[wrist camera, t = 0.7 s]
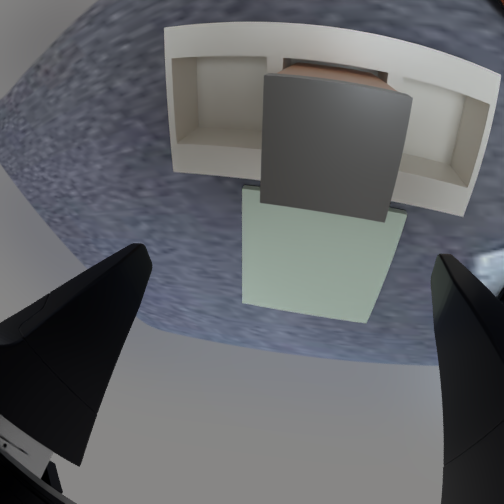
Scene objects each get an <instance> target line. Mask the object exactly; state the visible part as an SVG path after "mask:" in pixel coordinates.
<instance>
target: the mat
mask: <svg viewBox="0 0 504 504" xmlns="http://www.w3.org/2000/svg"><path fill="white" fill-rule="evenodd" d="M406 218H407V212H406V211H405V210H400V209H395V208H390V207H389V210H388V213H387V217H386V220H385V223H383V222H378V221H372V220H367V219H361V218H355V217H349V216H343V215H337V214H331V213H325V212H319V211H312V210H306V209H299V208H292V207H286V206H279V205H271V204H264V203H260V187H257V186H248V185H244V186H243V188H242V303H245V304H250V305H256V306H261V307H267V308H272V309H278V310H284V311H289V312H295V313H301V314H307V315H313V316H320V317H326V318H332V319H339V320H346V321H353V322H360V323H367V321H368V319H369V317H370V314H371V312H372V310H373V307H374V305H375V302H376V300H377V298H378V295H379V293H380V290H381V288H382V285H383V283H384V280H385V278H386V275H387V272H388V270H389V267H390V264H391V262H392V259H393V256H394V253H395V251H396V248H397V245H398V242H399V239H400V236H401V233H402V230H403V227H404V224H405V221H406Z"/></svg>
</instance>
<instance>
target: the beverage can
mask: <svg viewBox="0 0 504 504" xmlns="http://www.w3.org/2000/svg"><path fill="white" fill-rule="evenodd" d="M497 1H498V2H499V4H500V5H501V7H502V8H503V9H504V0H497Z"/></svg>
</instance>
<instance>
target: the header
mask: <svg viewBox="0 0 504 504" xmlns="http://www.w3.org/2000/svg"><path fill="white" fill-rule="evenodd" d="M164 43H165V69H166V88H167V103H168V117H169V130H170V141H171V152H172V162H173V172H181V173H193V174H205V175H215V176H225V177H235V178H244V179H253V180H261V151H262V120H263V88H264V75H265V74H268V73H278V72H280V71H282V70H284V69H285V68H287V67H289V66H291V65H293V64H295V63H297V62H301V63H310V64H319V65H327V66H334V67H341V68H348V69H354V70H359V71H365V72H370V73H372V74H374V75H375V76H377V77H378V78H380V79H381V80H382V81H384V82H385V83H387V84H388V85H390V86H391V87H392V88H394V89H395V90H396V91H398V92H401V93H405V94H408V95H409V96H411V97H412V98H413V100H412V106H411V112H410V118H409V123H408V129H407V134H406V139H405V143H404V148H403V153H402V157H401V162H400V166H399V170H398V175H397V179H396V183H395V187H394V191H393V195H392V198H391V201H393V202H398V203H403V204H408V205H413V206H418V207H422V208H427V209H431V210H436V211H440V212H445V213H449V214H453V215H457V216H461V217H463V216H464V213H465V210H466V208H467V205H468V202H469V200H470V197H471V194H472V191H473V188H474V185H475V182H476V179H477V176H478V173H479V170H480V166H481V163H482V160H483V156H484V153H485V149H486V145H487V142H488V138H489V134H490V130H491V126H492V121H493V117H494V112H495V107H496V102H497V97H498V92H499V86H500V80H501V75H500V74H498V73H496V72H493V71H491V70H489V69H486V68H484V67H482V66H479V65H477V64H474V63H472V62H469V61H467V60H464V59H461V58H458V57H456V56H453V55H450V54H447V53H444V52H441V51H438V50H435V49H432V48H428V47H425V46H421V45H418V44H414V43H411V42H407V41H403V40H399V39H395V38H391V37H386V36H381V35H377V34H372V33H367V32H361V31H355V30H349V29H343V28H336V27H328V26H319V25H309V24H297V23H281V22H221V23H204V24H192V25H182V26H174V27H166V28H164Z"/></svg>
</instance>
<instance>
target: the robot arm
mask: <svg viewBox="0 0 504 504" xmlns="http://www.w3.org/2000/svg"><path fill="white" fill-rule="evenodd" d="M151 271H152V262H151V259H150V257H149V254H148V252H147V249H146V247H145V245H144V244H141V243H133V244H130V245H129V246H127V247H125V248H123V249H122V250H120V251H118V252H116V253H115V254H113V255H111V256H109V257H108V258H106V259H104V260H103V261H101V262H99V263H98V264H96V265H94V266H92V267H91V268H89V269H87V270H86V271H84V272H82V273H81V274H79V275H78V276H76V277H74V278H73V279H71V280H69V281H68V282H66V283H64V284H63V285H62V286H60V287H58V288H56V289H55V290H53V291H52V292H51V293H50V294H47V295H45V296H44V297H42V298H41V299H39V300H37V301H36V302H34V303H33V304H31V305H30V306H28V307H26V308H24V309H23V310H21V311H19V312H18V313H16V314H14V315H13V316H11V317H9V318H7V319H6V320H4V321H3V322H1V323H0V504H76V503H75V502H73V501H72V500H70V499H68V498H67V497H65V496H64V495H62V492H63V491H62V488H61V484H60V481H59V477H58V473H57V469H56V465H55V463H53V462H52V461H50V458H51V456H52V454H53V452H54V453H56V454H58V455H60V456H61V457H63V458H64V459H66V460H68V461H70V462H71V463H73V464H75V465H77V466H80V465H81V462H82V459H83V456H84V453H85V449H86V447H87V443H88V440H89V437H90V434H91V431H92V428H93V425H94V422H95V419H96V417H97V413H98V410H99V407H100V405H101V402H102V399H103V397H104V394H105V391H106V388H107V386H108V383H109V380H110V378H111V375H112V372H113V370H114V367H115V365H116V362H117V360H118V357H119V355H120V352H121V350H122V347H123V345H124V343H125V340H126V338H127V335H128V333H129V331H130V328H131V326H132V323H133V321H134V319H135V317H136V314H137V312H138V309H139V307H140V304H141V301H142V298H143V295H144V292H145V289H146V286H147V283H148V280H149V277H150V274H151ZM431 291H432V303H433V318H434V332H435V339H436V346H437V353H438V361H439V370H440V379H441V391H442V405H443V424H444V425H443V426H444V467H443V485H442V499H441V504H504V289H503V290H502V292H501V293H500V295H499V297H498V298H497V297H496V296H495V295H494V294H493V293H492V292H491V291H490V290H489V289H488V288H487V287H486V286H485V285H484V284H483V283H482V282H481V281H480V280H478V279H477V278H476V277H475V276H474V275H473V274H472V273H471V272H470V271H469V270H468V269H467V268H466V267H465V266H464V265H463V264H462V263H460V262H459V261H458V260H457V259H456V258H455V257H454V256H453V255H451V254H439V255H438V256H437V258H436V262H435V265H434V269H433V272H432V276H431Z"/></svg>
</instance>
